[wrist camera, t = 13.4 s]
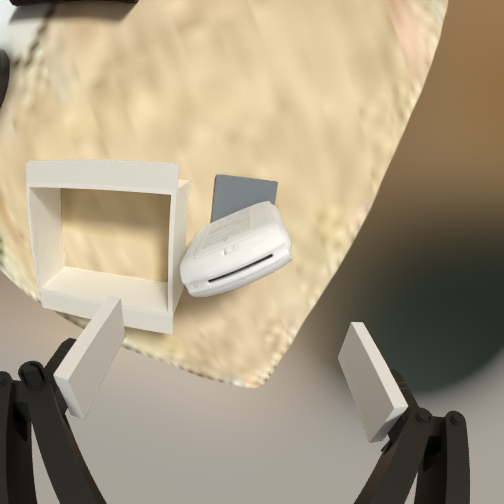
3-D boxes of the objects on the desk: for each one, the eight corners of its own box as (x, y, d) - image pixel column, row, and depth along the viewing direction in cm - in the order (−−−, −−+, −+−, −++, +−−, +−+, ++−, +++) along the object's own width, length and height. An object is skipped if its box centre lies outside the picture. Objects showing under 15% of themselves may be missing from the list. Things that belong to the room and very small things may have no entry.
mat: (207, 269, 37) (207, 271, 36) (216, 174, 32) (216, 174, 32) (262, 276, 37) (262, 277, 37) (277, 181, 33) (277, 182, 32)
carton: (66, 283, 37) (42, 307, 31) (58, 155, 30) (26, 161, 24) (183, 303, 38) (172, 334, 32) (192, 159, 32) (179, 163, 25)
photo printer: (207, 260, 36) (191, 315, 24) (191, 229, 34) (166, 274, 23) (285, 227, 34) (305, 271, 23) (271, 194, 33) (286, 223, 21)
